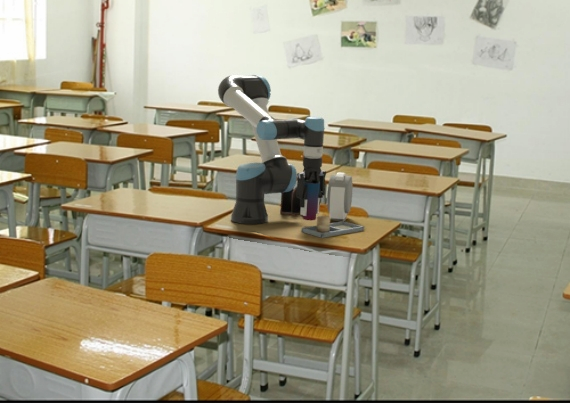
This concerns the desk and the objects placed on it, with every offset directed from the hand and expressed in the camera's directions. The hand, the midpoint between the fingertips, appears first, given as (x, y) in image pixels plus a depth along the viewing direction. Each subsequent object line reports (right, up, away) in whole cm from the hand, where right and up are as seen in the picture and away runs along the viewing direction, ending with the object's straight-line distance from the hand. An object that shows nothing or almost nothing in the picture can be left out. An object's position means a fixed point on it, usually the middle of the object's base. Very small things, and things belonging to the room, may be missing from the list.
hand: (309, 214), depth 318 cm
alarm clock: (+13, -3, +18) cm, 22 cm away
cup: (0, -2, 0) cm, 2 cm away
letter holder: (-5, +1, +35) cm, 35 cm away
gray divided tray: (+9, -7, -6) cm, 13 cm away
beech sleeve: (+5, -7, -10) cm, 13 cm away
